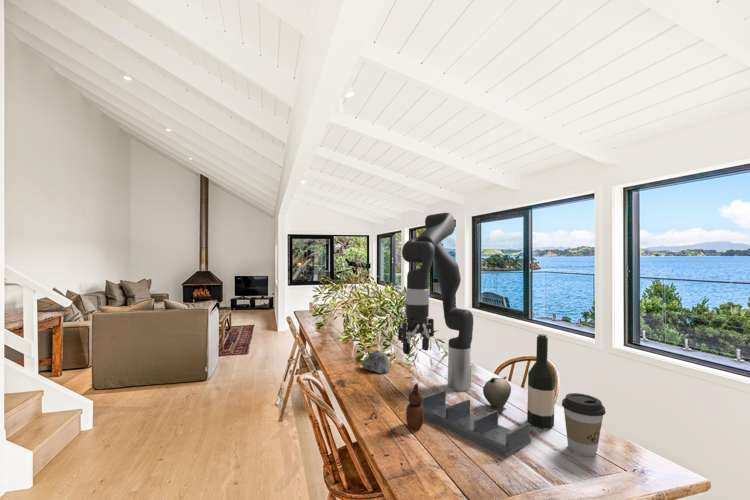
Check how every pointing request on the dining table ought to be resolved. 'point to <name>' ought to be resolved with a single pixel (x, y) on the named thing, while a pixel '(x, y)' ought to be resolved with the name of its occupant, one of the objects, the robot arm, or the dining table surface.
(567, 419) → the coffee cup
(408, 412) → the wooden figurine
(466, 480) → the dining table surface
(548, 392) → the wine bottle
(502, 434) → the grey shelf
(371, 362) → the mineral rock
